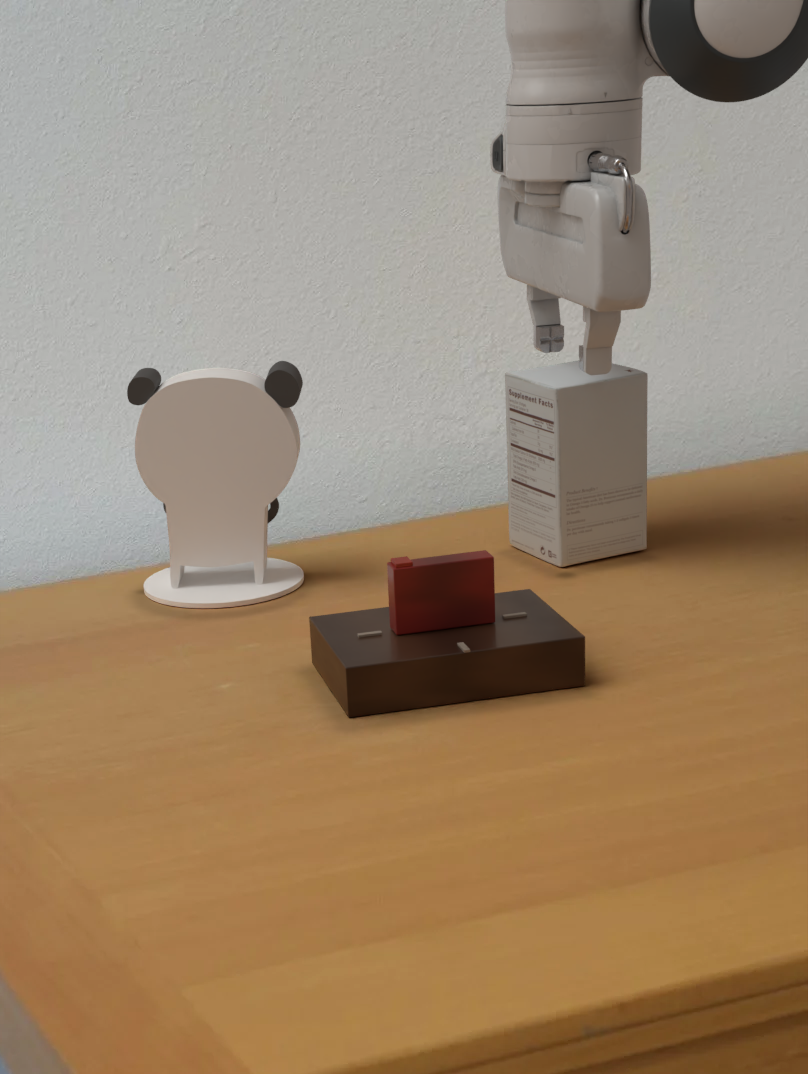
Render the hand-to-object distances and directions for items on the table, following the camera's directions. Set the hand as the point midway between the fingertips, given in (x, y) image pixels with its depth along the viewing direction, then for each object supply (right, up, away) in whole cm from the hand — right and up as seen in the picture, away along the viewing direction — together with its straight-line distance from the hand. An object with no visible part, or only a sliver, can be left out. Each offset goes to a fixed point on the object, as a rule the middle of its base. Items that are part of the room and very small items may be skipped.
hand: (571, 361), depth 125 cm
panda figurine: (-24, -15, +4) cm, 28 cm away
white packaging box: (+1, -12, +5) cm, 13 cm away
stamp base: (-10, -23, -17) cm, 30 cm away
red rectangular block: (-11, -20, -18) cm, 29 cm away
